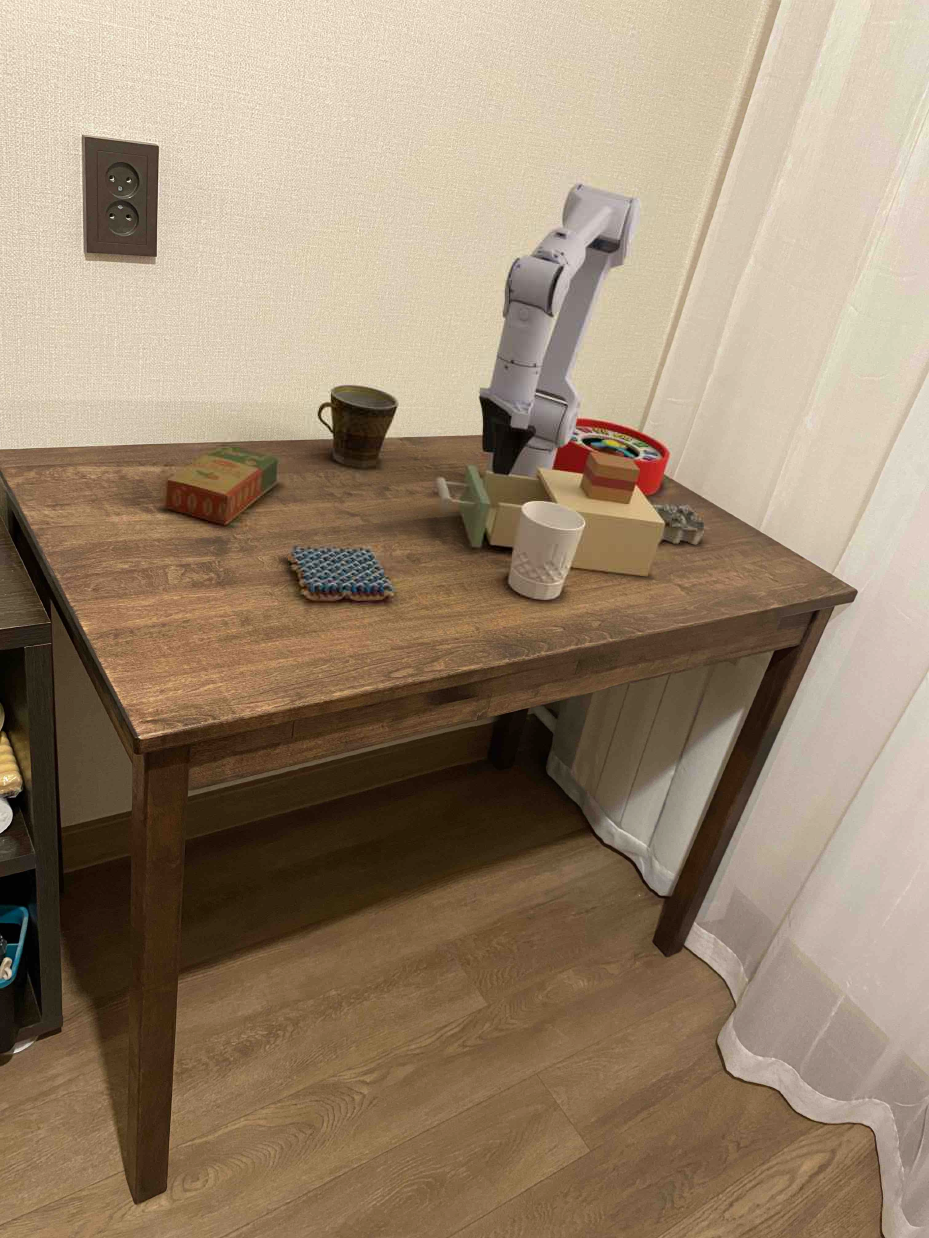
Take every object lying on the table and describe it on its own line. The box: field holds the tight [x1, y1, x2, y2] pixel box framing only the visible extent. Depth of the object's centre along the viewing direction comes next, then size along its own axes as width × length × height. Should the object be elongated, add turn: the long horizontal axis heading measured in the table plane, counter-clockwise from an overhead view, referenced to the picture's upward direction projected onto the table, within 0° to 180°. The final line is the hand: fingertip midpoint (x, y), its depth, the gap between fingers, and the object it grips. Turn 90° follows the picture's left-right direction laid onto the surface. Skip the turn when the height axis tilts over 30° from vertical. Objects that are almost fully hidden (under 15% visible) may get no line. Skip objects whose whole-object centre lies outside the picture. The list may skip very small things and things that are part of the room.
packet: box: [580, 452, 640, 504], centre depth 123 cm, size 6×4×5 cm
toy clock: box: [552, 417, 671, 496], centre depth 157 cm, size 20×6×20 cm
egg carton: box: [651, 503, 710, 545], centre depth 138 cm, size 11×8×4 cm
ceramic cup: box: [317, 384, 399, 469], centre depth 136 cm, size 13×10×10 cm
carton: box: [164, 443, 279, 526], centre depth 117 cm, size 8×16×4 cm, turn 168°
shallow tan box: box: [535, 468, 665, 577], centre depth 127 cm, size 15×14×8 cm
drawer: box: [434, 464, 553, 549], centre depth 124 cm, size 18×13×6 cm
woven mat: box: [287, 545, 395, 602], centre depth 105 cm, size 10×11×2 cm
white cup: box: [507, 501, 585, 601], centre depth 112 cm, size 8×8×10 cm
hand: (495, 462), depth 120 cm, fingers open, 7 cm apart
